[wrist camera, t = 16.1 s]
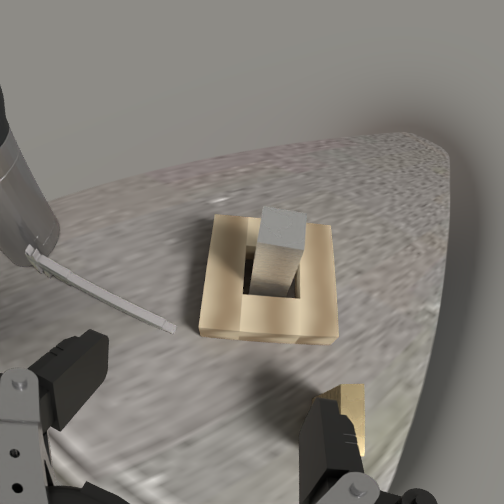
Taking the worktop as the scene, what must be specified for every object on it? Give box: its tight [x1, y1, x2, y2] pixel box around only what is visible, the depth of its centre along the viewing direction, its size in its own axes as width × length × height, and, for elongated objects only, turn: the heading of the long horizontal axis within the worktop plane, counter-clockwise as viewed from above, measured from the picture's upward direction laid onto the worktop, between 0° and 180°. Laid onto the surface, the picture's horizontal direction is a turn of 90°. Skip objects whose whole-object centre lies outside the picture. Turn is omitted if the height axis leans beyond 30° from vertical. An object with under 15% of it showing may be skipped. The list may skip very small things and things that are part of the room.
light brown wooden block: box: [312, 384, 365, 456], centre depth 25 cm, size 2×6×9 cm, turn 177°
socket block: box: [199, 214, 339, 345], centre depth 36 cm, size 14×14×3 cm
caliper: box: [25, 244, 177, 334], centre depth 32 cm, size 20×1×6 cm, turn 72°
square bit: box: [249, 206, 307, 298], centre depth 33 cm, size 4×4×11 cm
